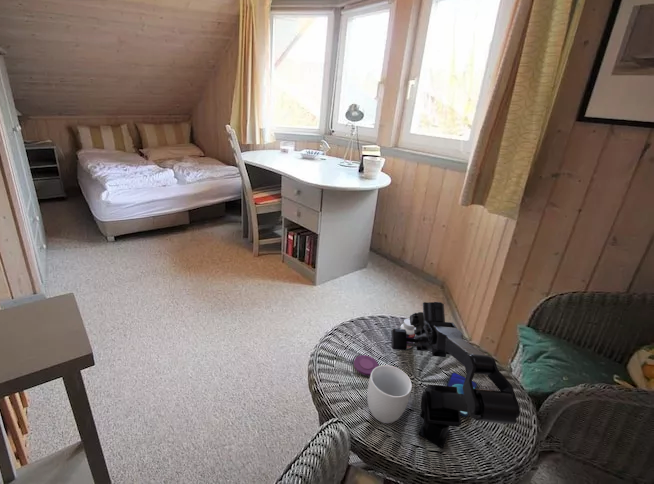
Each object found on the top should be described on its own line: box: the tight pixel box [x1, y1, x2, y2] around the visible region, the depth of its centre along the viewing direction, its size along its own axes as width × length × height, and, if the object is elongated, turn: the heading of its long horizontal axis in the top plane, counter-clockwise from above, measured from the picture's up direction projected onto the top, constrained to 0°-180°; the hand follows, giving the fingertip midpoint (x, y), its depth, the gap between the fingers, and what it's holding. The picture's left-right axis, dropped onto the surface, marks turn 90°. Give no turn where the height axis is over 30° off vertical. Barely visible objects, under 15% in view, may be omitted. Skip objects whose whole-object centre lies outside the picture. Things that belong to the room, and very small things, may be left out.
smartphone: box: [446, 372, 478, 418], centre depth 108 cm, size 8×1×15 cm
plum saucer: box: [353, 354, 380, 377], centre depth 117 cm, size 8×8×1 cm
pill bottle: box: [399, 318, 416, 350], centre depth 125 cm, size 5×5×10 cm
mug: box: [366, 364, 413, 424], centre depth 100 cm, size 15×11×13 cm
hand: (414, 343), depth 117 cm, fingers open, 9 cm apart
